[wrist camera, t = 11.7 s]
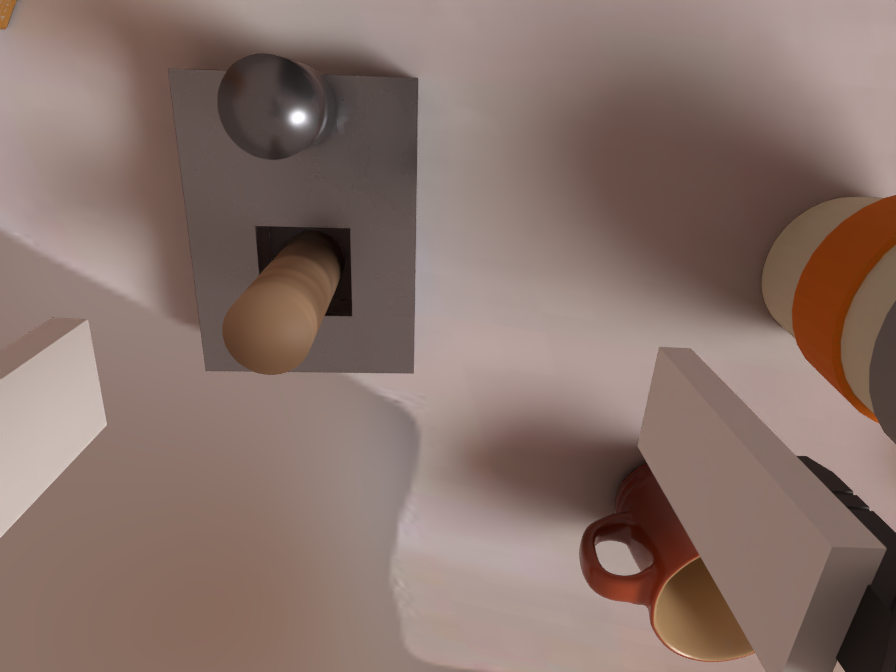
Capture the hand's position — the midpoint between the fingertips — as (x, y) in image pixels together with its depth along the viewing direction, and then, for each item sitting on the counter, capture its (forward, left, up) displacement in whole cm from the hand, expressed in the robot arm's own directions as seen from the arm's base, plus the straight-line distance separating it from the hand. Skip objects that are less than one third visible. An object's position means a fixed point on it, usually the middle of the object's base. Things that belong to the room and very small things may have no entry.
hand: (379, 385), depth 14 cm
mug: (+19, +17, -23) cm, 34 cm away
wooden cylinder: (+3, -5, -22) cm, 23 cm away
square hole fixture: (+1, -5, -22) cm, 23 cm away
